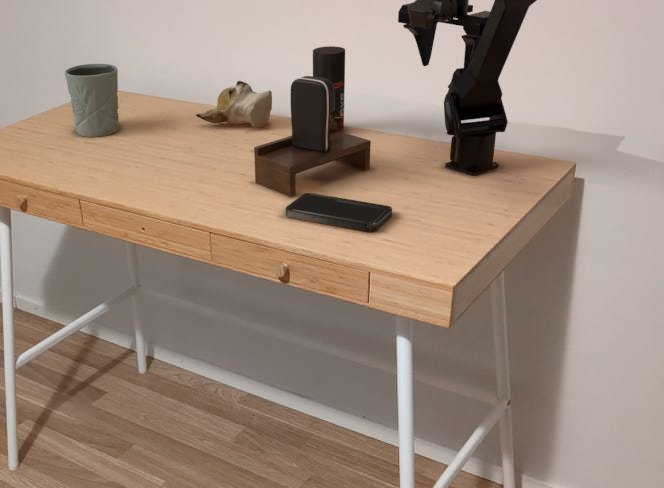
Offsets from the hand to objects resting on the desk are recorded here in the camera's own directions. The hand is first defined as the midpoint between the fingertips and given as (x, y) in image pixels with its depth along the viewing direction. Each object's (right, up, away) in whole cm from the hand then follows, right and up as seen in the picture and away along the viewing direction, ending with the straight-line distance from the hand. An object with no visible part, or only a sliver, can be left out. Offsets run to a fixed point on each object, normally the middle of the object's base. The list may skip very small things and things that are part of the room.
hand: (445, 70), depth 156 cm
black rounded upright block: (-24, -15, -6) cm, 29 cm away
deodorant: (-19, -7, +16) cm, 26 cm away
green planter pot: (-64, -4, +24) cm, 68 cm away
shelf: (-24, -19, -4) cm, 31 cm away
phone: (-21, -28, -19) cm, 40 cm away
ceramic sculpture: (-35, -4, +23) cm, 42 cm away
